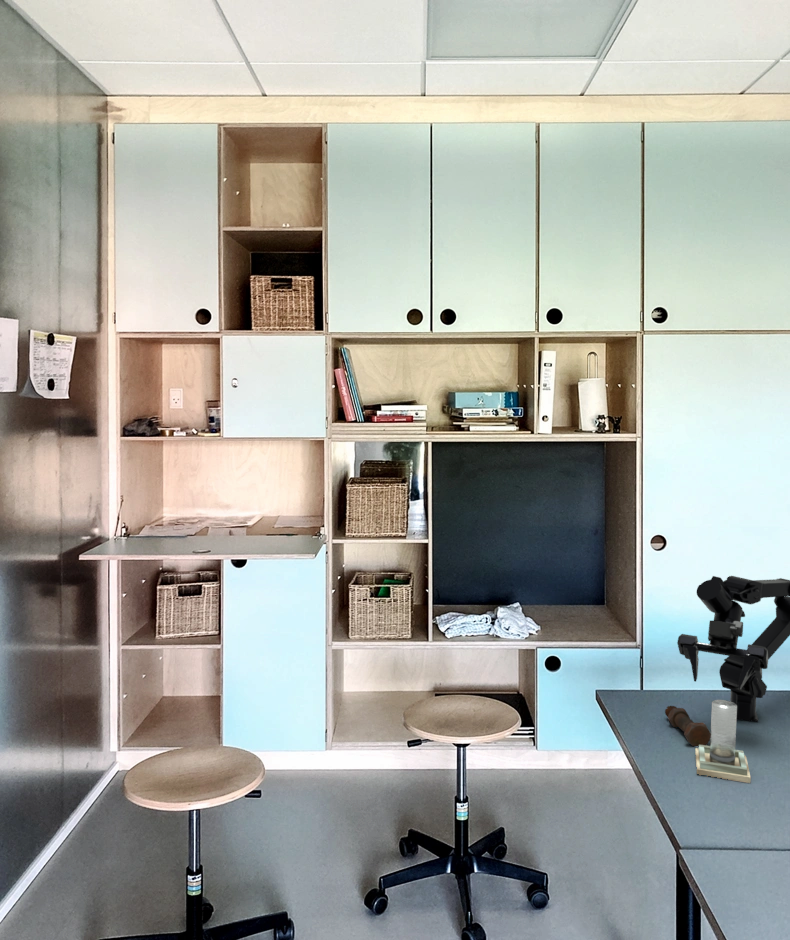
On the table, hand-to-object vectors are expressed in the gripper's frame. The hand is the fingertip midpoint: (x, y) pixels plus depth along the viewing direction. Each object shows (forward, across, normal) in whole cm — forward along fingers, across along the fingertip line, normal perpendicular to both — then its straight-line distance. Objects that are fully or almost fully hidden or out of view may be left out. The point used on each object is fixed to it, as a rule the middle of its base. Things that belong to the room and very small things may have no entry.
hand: (716, 684), depth 167 cm
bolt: (+8, -7, +12) cm, 16 cm away
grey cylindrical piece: (+16, +3, +1) cm, 17 cm away
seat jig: (+18, +3, +2) cm, 18 cm away
